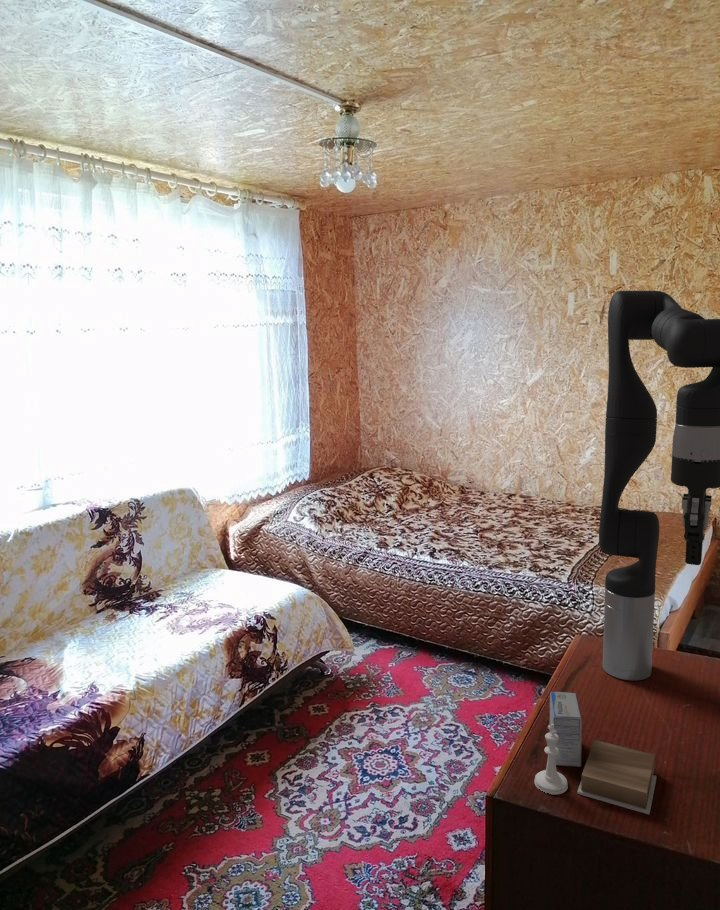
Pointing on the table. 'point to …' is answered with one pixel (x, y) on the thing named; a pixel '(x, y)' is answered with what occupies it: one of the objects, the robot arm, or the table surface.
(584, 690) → the table surface
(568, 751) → the medicine box
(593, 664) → the table surface
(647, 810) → the mat
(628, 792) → the tile
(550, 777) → the chess piece
